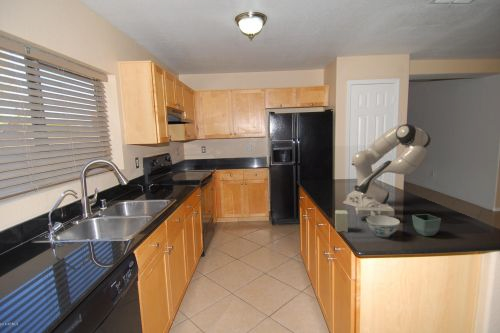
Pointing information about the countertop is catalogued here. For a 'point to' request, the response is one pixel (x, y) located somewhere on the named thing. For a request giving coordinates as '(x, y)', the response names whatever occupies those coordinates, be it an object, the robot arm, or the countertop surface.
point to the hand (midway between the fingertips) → (377, 215)
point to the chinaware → (383, 225)
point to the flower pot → (426, 224)
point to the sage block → (341, 220)
